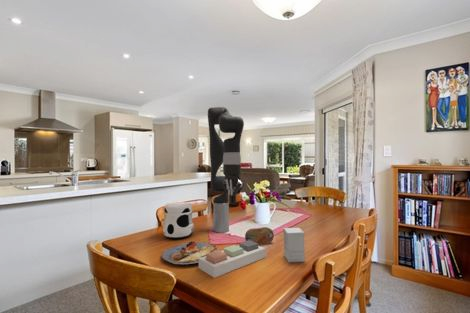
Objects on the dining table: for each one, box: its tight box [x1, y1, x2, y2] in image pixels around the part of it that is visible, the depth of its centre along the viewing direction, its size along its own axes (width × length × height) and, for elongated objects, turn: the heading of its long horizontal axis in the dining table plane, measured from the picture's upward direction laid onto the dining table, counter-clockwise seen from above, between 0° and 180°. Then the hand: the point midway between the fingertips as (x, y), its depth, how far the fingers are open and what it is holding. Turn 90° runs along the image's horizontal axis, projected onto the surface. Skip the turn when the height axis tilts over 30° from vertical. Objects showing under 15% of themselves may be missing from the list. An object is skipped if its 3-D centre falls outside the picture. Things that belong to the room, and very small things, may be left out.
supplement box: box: [283, 227, 306, 263], centre depth 109 cm, size 7×7×13 cm
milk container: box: [162, 201, 195, 239], centre depth 144 cm, size 17×17×18 cm
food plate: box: [161, 241, 218, 266], centre depth 115 cm, size 25×23×4 cm
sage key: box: [223, 244, 243, 258], centre depth 107 cm, size 6×6×3 cm
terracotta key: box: [206, 249, 227, 264], centre depth 101 cm, size 6×6×3 cm
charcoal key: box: [238, 240, 259, 252], centre depth 112 cm, size 6×6×3 cm
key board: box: [198, 244, 267, 279], centre depth 107 cm, size 11×28×4 cm, turn 130°
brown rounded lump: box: [244, 226, 275, 246], centre depth 128 cm, size 15×3×8 cm, turn 105°
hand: (232, 203), depth 106 cm, fingers closed
